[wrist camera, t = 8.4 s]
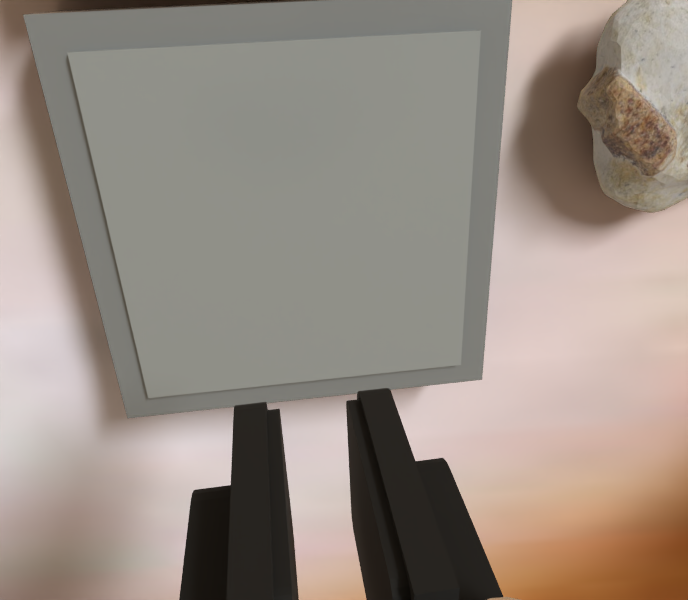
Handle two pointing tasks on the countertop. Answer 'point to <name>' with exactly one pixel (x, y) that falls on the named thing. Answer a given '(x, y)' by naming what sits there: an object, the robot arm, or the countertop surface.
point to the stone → (641, 105)
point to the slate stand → (282, 190)
